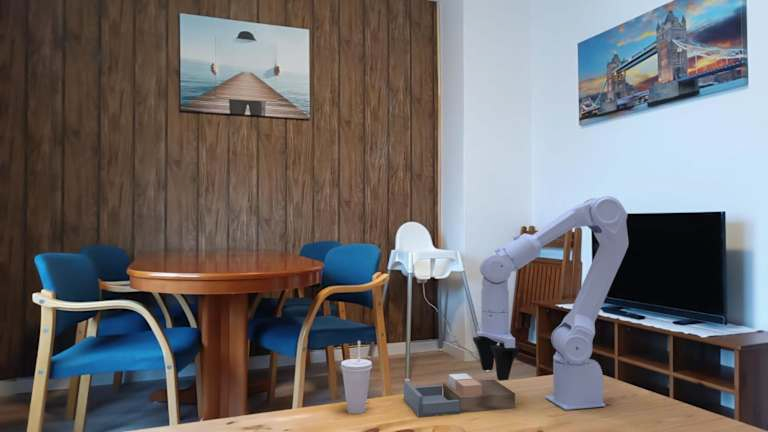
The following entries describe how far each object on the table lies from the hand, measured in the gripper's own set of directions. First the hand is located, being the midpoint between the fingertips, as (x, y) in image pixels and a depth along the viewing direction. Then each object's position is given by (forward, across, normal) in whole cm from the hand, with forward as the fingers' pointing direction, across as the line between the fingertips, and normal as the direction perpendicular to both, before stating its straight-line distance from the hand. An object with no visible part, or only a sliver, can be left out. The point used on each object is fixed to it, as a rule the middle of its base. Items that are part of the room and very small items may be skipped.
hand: (494, 374), depth 112 cm
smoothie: (+6, -1, -30) cm, 30 cm away
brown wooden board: (+6, 0, -4) cm, 7 cm away
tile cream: (+3, -2, -7) cm, 8 cm away
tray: (+6, 0, -14) cm, 15 cm away
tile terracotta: (+3, +2, -7) cm, 8 cm away
